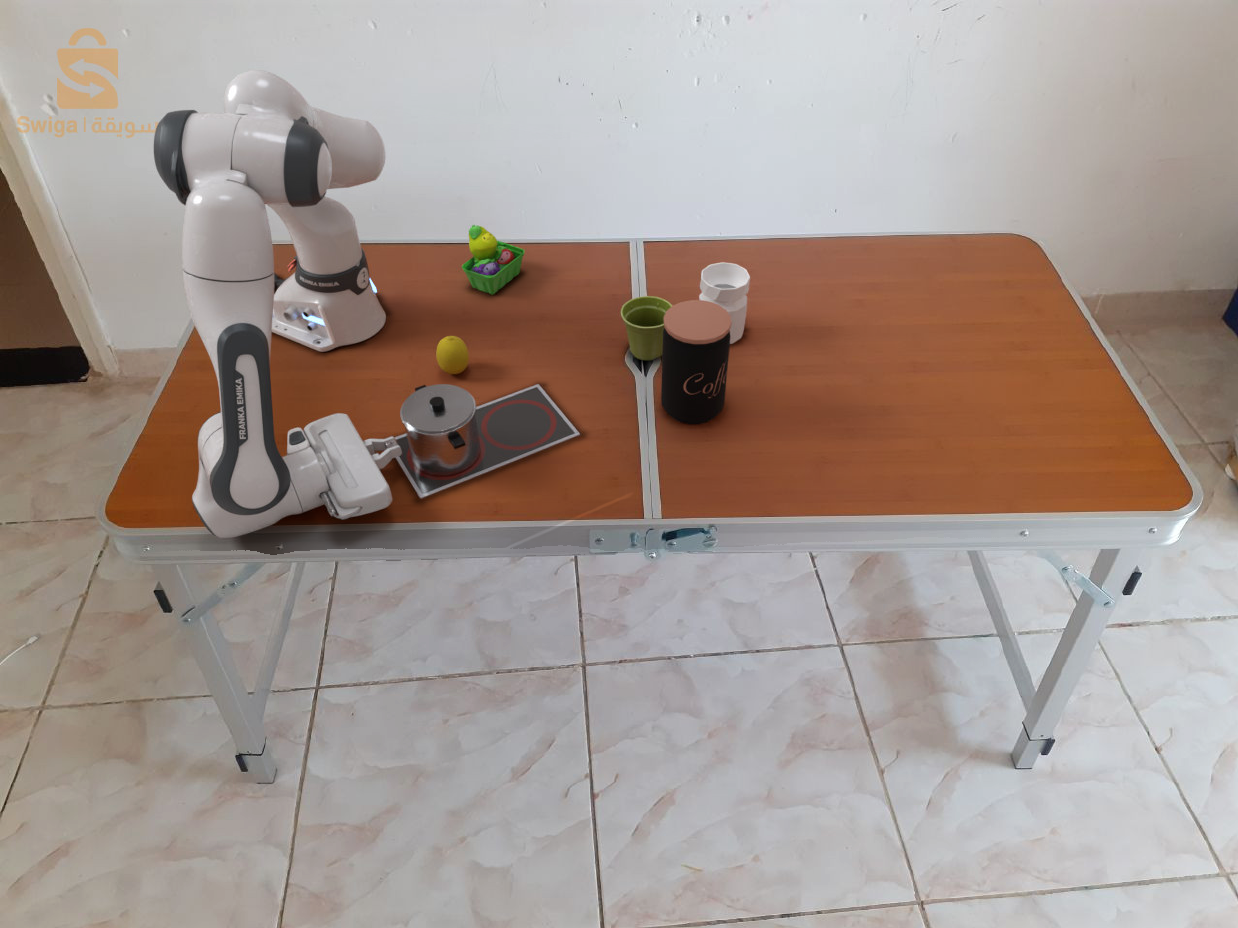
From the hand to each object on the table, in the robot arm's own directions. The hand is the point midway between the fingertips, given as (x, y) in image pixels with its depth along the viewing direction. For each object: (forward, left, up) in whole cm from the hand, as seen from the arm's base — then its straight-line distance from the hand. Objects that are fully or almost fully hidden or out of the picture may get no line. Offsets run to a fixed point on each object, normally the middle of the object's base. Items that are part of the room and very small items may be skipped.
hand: (398, 445), depth 148 cm
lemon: (-3, +25, -6) cm, 25 cm away
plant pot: (+27, +42, -6) cm, 50 cm away
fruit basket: (-9, +54, -6) cm, 55 cm away
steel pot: (+5, +6, -5) cm, 9 cm away
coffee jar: (+39, +30, -6) cm, 49 cm away
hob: (+9, +11, -6) cm, 15 cm away
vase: (+38, +52, -6) cm, 64 cm away
